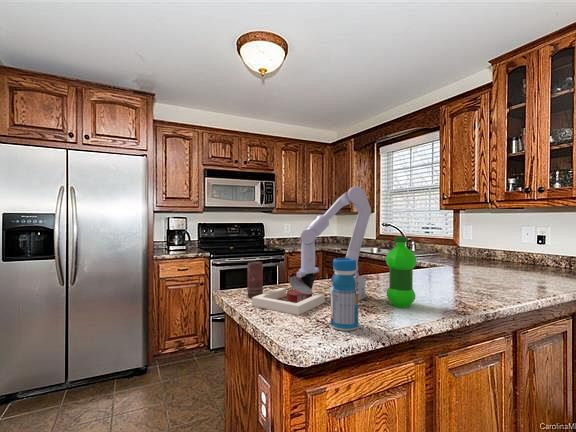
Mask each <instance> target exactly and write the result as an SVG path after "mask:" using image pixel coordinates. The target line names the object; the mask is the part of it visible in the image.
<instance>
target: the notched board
mask: <svg viewBox="0 0 576 432" xmlns="http://www.w3.org/2000/svg"><path fill="white" fill-rule="evenodd" d="M283 297H287V288H286V287H279V288H276V289H273V290H270V291H267V292H263V294H261V295H258V296H255V297H252V298H251V306H253V307H256V308H257V307H258V308H261V309H266V310H272V311H277V312H280V313H285V314H290V315H296V316H300V315H302V314H304V313H306V312H308V311H310V310H312V309H314V308H316V307H319V306H320V305H322V304H324V303H325V294H323V293H316V294H314V295H312V297H309V298H307V299H305V300H303V301H300V302H298V303H293V302H289V301H288V300H281V298H283Z"/></svg>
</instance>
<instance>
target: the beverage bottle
mask: <svg viewBox="0 0 576 432" xmlns="http://www.w3.org/2000/svg"><path fill="white" fill-rule="evenodd" d="M332 268H333V271H334V273H333V275H332V277H331V278H330V284H331V286H330V288H329V289H330V290H329V294H330V326H331V327H332V329H335V330H337V331H342V332H343V331H345V332H350V331H351V332H352V331H355V330H357V329H359V301H358V296H359V289H358V284H359V282H358V279H357V276H356V275H355V273H354V271H356V260H355V259H351V258H345V257H337V258H334V259H333V261H332Z"/></svg>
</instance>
